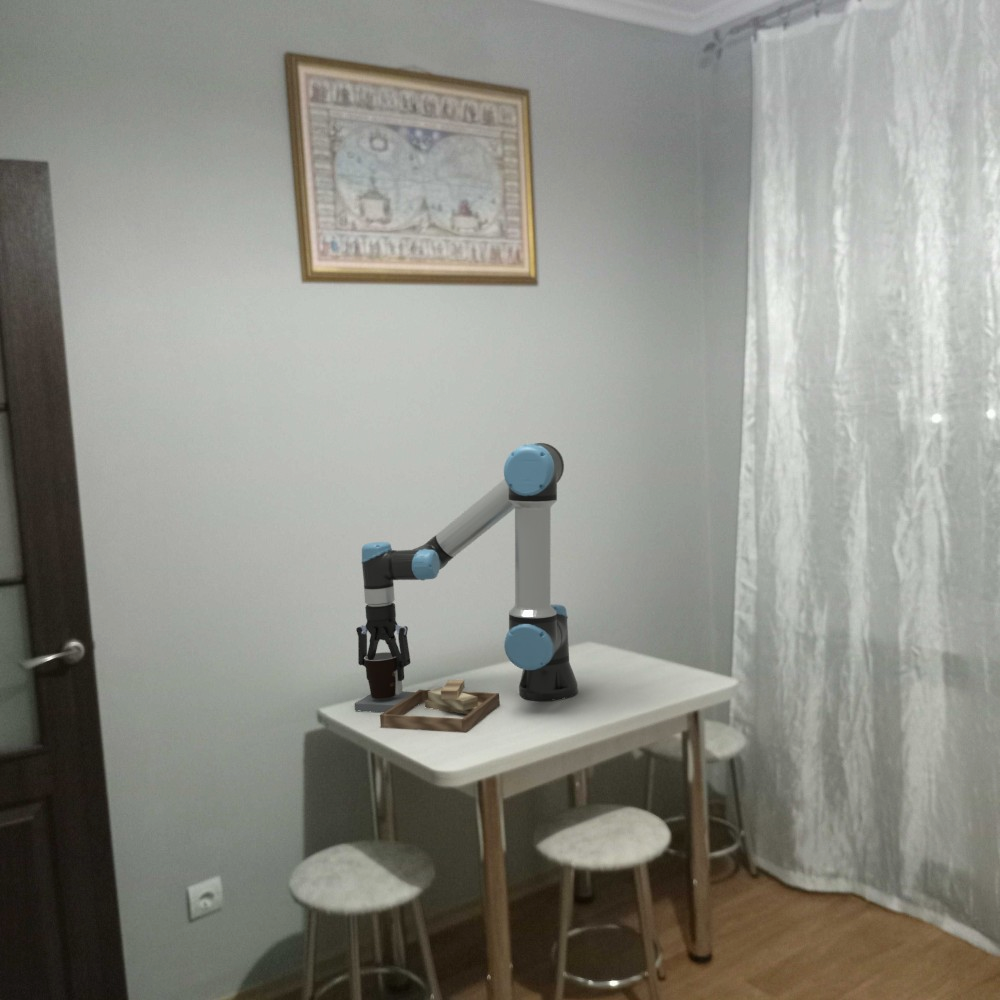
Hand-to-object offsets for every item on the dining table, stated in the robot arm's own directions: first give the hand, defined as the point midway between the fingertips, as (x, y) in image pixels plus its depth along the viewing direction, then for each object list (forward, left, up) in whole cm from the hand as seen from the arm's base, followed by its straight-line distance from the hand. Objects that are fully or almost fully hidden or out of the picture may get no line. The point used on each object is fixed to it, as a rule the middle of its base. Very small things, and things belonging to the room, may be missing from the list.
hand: (386, 692), depth 252 cm
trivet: (0, 0, -3) cm, 3 cm away
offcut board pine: (-19, +1, -2) cm, 19 cm away
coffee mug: (0, 0, 0) cm, 1 cm away
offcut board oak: (-19, 0, -4) cm, 19 cm away
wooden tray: (-18, +6, -3) cm, 19 cm away
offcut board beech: (-19, 0, +1) cm, 19 cm away
